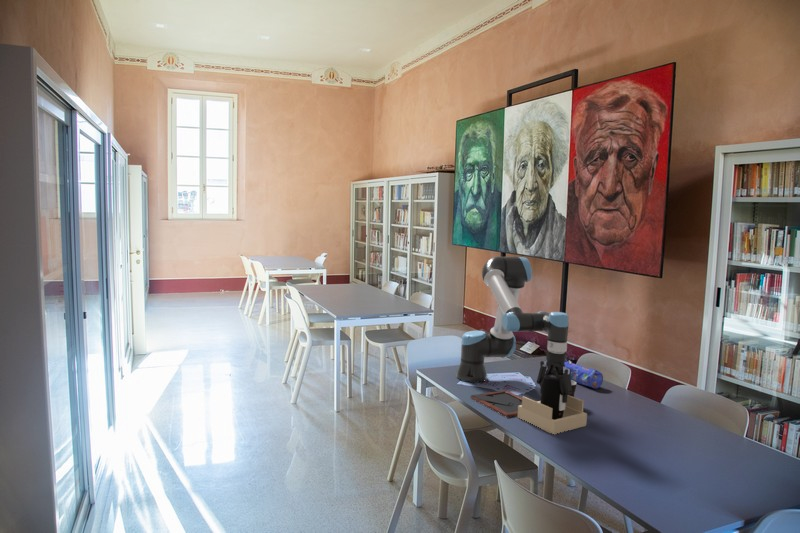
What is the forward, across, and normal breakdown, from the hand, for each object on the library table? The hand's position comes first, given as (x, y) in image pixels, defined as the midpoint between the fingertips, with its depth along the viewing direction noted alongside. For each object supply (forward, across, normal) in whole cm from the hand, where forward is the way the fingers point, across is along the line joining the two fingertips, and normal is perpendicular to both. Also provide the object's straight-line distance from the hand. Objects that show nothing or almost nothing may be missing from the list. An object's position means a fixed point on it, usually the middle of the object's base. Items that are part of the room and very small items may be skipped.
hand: (552, 406), depth 218 cm
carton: (+7, 0, 0) cm, 7 cm away
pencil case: (+7, -29, +53) cm, 61 cm away
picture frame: (+7, -23, -3) cm, 24 cm away
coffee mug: (+7, -12, +23) cm, 27 cm away
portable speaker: (+7, 0, 0) cm, 7 cm away
